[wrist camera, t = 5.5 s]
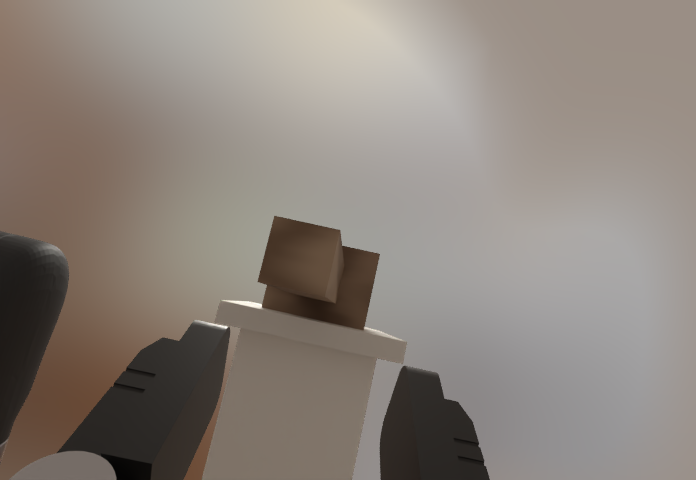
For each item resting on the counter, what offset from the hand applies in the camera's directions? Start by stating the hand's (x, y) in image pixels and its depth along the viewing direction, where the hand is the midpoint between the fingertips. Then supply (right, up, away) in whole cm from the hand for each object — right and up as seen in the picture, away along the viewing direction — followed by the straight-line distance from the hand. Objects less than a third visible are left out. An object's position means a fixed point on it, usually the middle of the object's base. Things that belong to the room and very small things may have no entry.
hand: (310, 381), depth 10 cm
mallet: (-2, -2, +21) cm, 21 cm away
